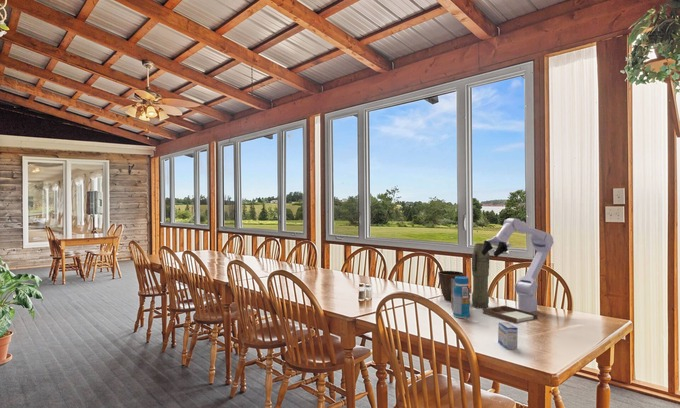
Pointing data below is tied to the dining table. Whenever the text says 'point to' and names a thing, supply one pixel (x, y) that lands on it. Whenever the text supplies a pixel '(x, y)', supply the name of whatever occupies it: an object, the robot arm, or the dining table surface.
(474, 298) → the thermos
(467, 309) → the beverage bottle
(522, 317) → the cover plate
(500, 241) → the robot arm
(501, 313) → the case
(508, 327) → the medicine box
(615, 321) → the dining table surface
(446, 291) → the plant pot
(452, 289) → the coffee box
